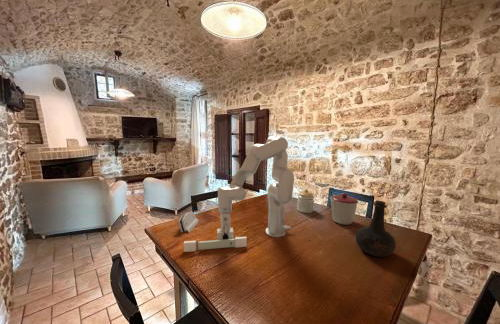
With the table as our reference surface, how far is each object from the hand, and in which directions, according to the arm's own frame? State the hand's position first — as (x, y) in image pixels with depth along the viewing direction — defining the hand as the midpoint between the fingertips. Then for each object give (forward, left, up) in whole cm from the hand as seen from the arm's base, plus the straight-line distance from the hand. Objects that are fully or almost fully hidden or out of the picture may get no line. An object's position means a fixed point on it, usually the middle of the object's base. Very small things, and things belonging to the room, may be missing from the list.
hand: (225, 238), depth 116 cm
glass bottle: (-78, +23, -2) cm, 81 cm away
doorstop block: (0, 0, -1) cm, 1 cm away
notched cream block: (+5, +7, -2) cm, 9 cm away
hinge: (+23, -22, -2) cm, 32 cm away
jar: (-67, -37, -2) cm, 77 cm away
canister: (-84, -13, -2) cm, 85 cm away
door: (+5, +7, -2) cm, 9 cm away
